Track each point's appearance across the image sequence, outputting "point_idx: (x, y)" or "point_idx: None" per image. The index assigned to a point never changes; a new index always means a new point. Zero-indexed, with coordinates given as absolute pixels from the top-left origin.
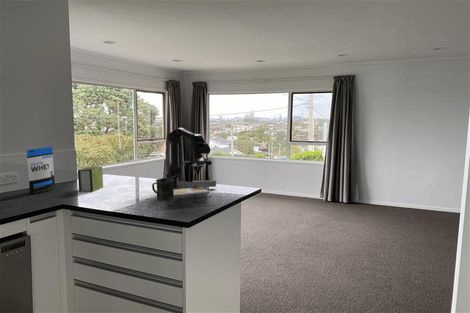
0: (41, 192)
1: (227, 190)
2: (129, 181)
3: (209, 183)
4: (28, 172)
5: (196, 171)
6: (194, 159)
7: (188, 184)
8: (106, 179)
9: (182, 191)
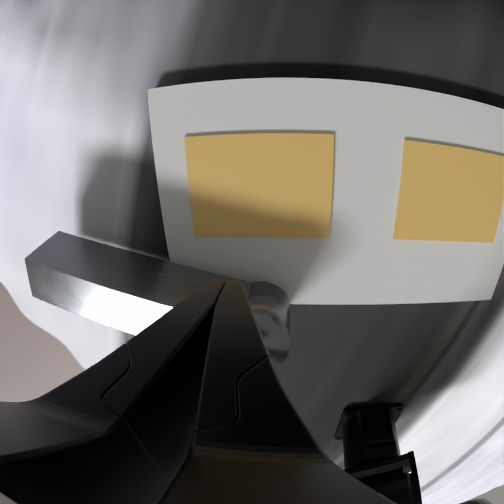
0: None
1: (7, 138)
2: (449, 481)
3: (94, 264)
4: None
5: (253, 351)
6: None
7: None
8: (470, 489)
9: (446, 180)
